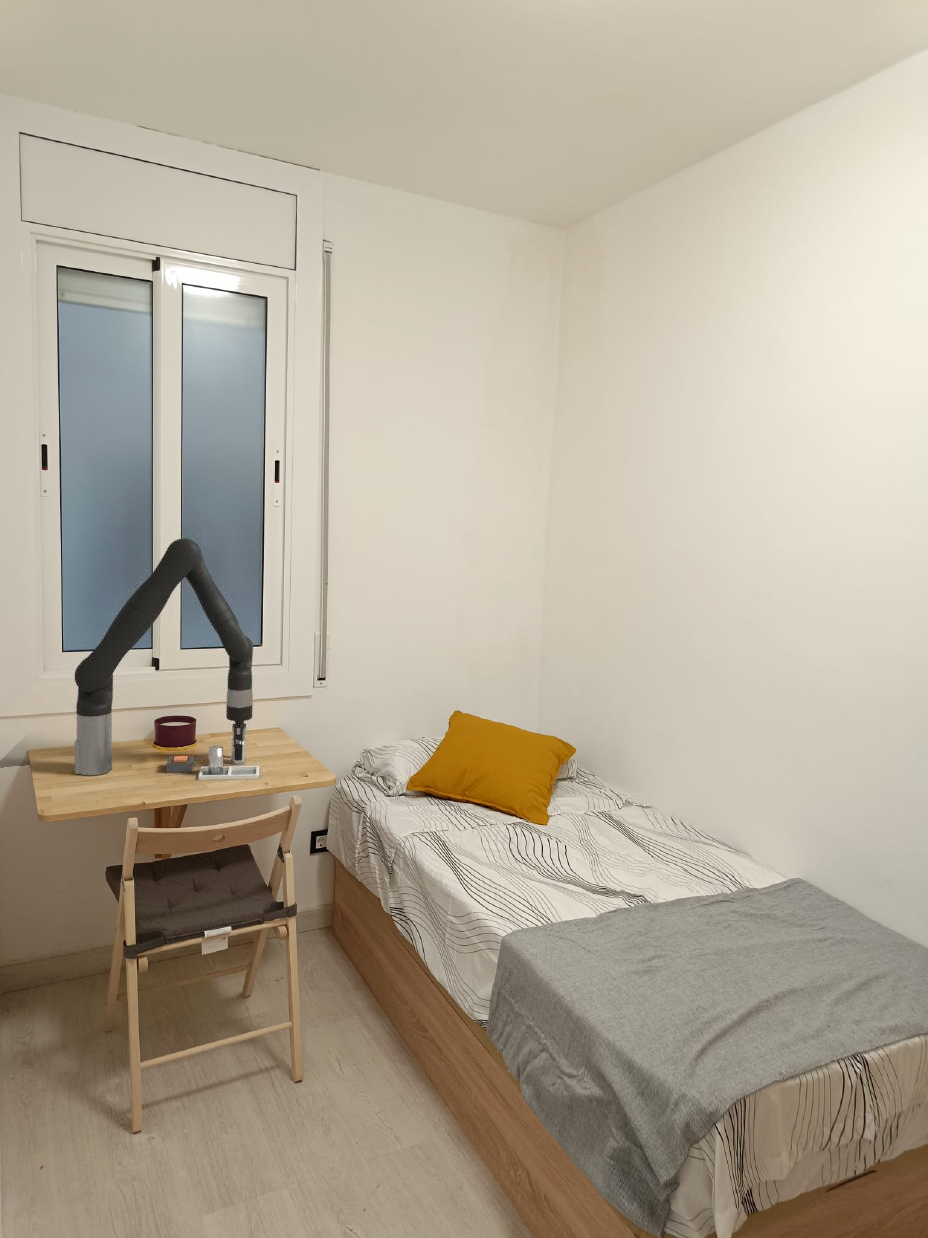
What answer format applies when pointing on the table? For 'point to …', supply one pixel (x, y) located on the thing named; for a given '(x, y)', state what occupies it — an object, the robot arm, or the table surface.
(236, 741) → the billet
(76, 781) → the table surface
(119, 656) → the robot arm
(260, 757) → the table surface
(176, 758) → the button
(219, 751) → the cylinder
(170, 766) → the button housing
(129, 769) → the table surface
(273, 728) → the table surface
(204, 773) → the white divided tray
